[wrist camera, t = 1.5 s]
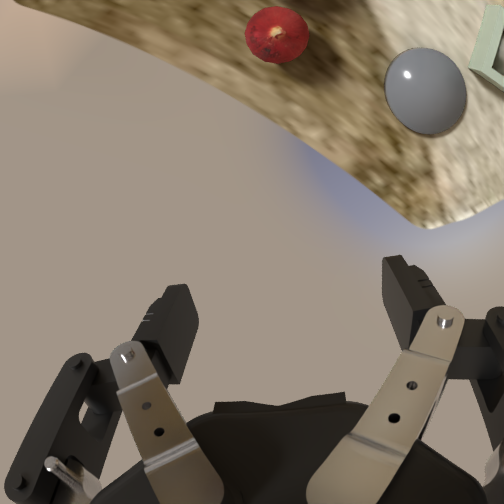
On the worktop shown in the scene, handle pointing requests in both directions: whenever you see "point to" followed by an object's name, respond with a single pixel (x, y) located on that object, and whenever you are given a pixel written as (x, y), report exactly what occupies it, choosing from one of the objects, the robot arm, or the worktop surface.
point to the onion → (277, 34)
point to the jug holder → (489, 45)
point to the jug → (500, 57)
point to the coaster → (425, 90)
